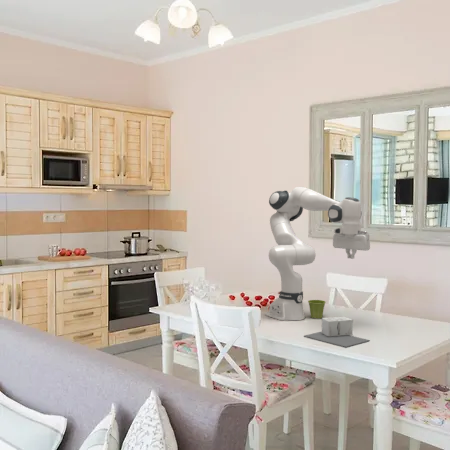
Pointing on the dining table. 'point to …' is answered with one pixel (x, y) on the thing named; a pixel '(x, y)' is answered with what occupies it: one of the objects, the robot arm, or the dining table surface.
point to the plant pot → (316, 308)
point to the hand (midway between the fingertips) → (350, 258)
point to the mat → (337, 339)
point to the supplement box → (337, 326)
